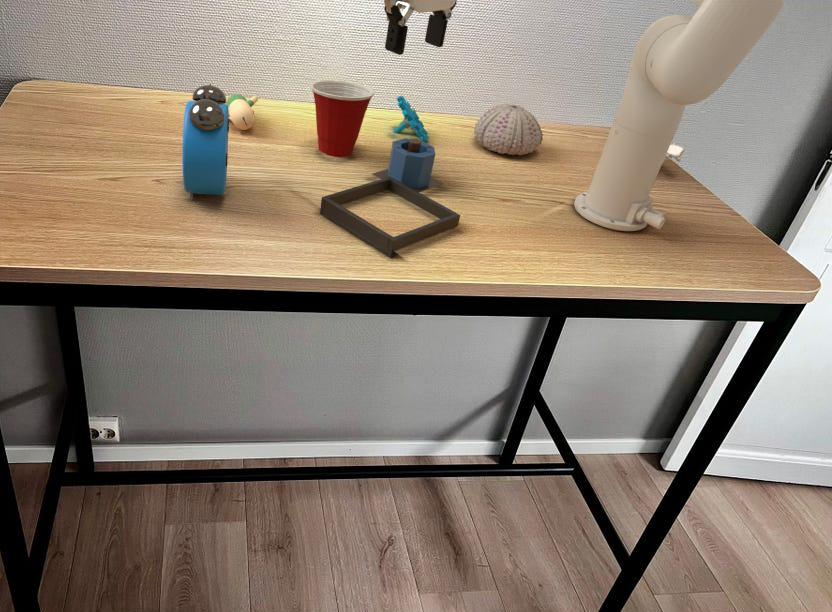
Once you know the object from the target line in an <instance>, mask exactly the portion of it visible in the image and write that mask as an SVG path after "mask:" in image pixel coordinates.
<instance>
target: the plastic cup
mask: <svg viewBox="0 0 832 612" xmlns="http://www.w3.org/2000/svg"><path fill="white" fill-rule="evenodd" d="M310 89H311V91H312V93H313V98H314V106H315V120H316V135H317V148H318V151H320V152H321V153H322V154H324V155H326V156H330V157H333V158H334V157H336V158H345V157H346V158H347V157H348V156H351V155H352V154H353V152H354V149H355V146H356V142H357V141H358V138H359V135H360V132H361V128H362V125H363V122H364V118H365V115H366V112H367V110H368V107H369V105H370V102H371V100H372V98H373V97H374V96H375V91H374V90H373V89H372V88H370V87H369V86H367V85H364V84H360V83H357V82H352V81H346V80H335V79H332V80H331V79H329V80H328V79H327V80H319V81H318V80H317V81H313V82H312V83H311V84H310Z"/></svg>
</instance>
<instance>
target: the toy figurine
mask: <svg viewBox="0 0 832 612" xmlns="http://www.w3.org/2000/svg"><path fill="white" fill-rule="evenodd" d="M258 101H259V97H258V96H257V95H253V96H252V97H250V99H249V100H248V99H247V98H246V97H245V96H244V95H242V94H240V93H239V94H238V93H236V94H232V95H231V96H229V97H228V98H227V99H226V103H225V104H226V105H228V109H229V121H230V122H231V124H232V125H233V126H234V127H235V128H237V129H238V130H242V131H245V130H246V131H247V130H249V129H251V128H252V127H253V126H254V123H255V119H256V116H255V115H256V114H255V112H254V109H253V107H254V105H255V104H256V103H257V102H258Z"/></svg>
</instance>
